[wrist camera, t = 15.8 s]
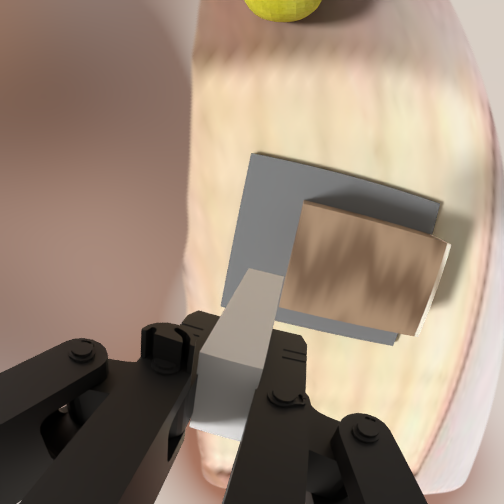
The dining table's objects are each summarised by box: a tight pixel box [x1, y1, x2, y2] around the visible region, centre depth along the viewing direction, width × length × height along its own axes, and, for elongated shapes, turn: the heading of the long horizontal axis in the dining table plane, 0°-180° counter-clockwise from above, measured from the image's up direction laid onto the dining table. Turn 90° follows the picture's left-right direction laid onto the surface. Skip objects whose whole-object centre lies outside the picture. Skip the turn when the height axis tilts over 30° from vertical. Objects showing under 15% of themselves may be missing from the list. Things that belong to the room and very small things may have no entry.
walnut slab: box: [279, 200, 451, 337], centre depth 24 cm, size 8×4×12 cm
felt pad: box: [221, 153, 440, 346], centre depth 27 cm, size 14×17×1 cm
